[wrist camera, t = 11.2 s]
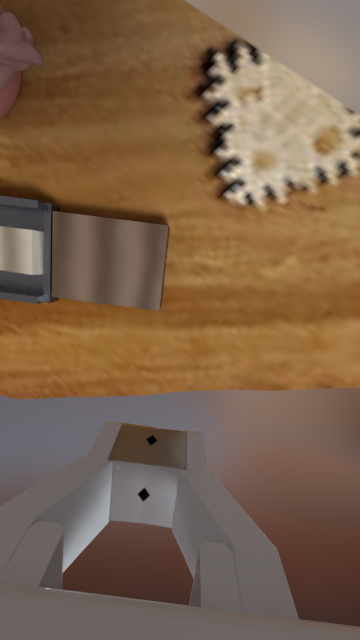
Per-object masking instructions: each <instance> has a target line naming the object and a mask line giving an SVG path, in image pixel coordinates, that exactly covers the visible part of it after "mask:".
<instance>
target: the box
mask: <svg viewBox="0 0 360 640" xmlns="http://www.w3.org/2000/svg"><path fill="white" fill-rule="evenodd" d="M53 211H56V212H60V207H58V206H56V205H53V204H50V203H43V202H41V201H38V200H31V199H23V198H15V197H7V196H0V226H3V227H11V228H20V229H28V230H35V231H41V232H44V274H40V275H29V274H23V273H16V272H9V271H3V270H0V299H5V300H13V301H21V302H29V303H37V304H38V303H42V302H47V303H51V302H54V301H58V298H55V297H52V233H53Z"/></svg>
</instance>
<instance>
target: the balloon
mask: <svg viewBox="0 0 360 640" xmlns="http://www.w3.org/2000/svg"><path fill="white" fill-rule="evenodd" d="M33 45H34V42H33V35H32V33H31V31H30V30H29V29H28V28H27V27H21V26H20V24H19V22H18V20H17V18H16V17H15V15H13V14H12V13H10V12H5V11H4V9H3V7H2V5H1V4H0V119H1V118H2V117H3V116H5V115H6V114H7V113H8V112H9V111H10V109H11V108H12V106H13V105H14V103H15V101H16V99H17V96H18V93H19V90H20V85H21V71H25V70H28V69H29V68H30V67H31V65H32V64H34V65H36V66H40V65H41V64H42V61H43V60H42V57H41V55H40V53H39V52H38V51H37V50H36V49H35V48H34V47H33Z"/></svg>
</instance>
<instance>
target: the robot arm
mask: <svg viewBox="0 0 360 640" xmlns="http://www.w3.org/2000/svg"><path fill="white" fill-rule="evenodd" d="M109 520H115V521H126V522H137V523H144V524H151V525H157V526H164V527H170V528H172V531H173V533H174V535H175V537H176V540H177V542H178V544H179V547H180V549H181V551H182V553H183V556H184V558H185V560H186V562H187V565H188V567H189V569H190V571H191V574H192V576H193V578H194V582H193V588H192V593H191V598H190V604H189V606H186V605H179V604H170V603H163V602H154V601H146V600H139V599H131V598H123V597H115V596H107V595H99V594H92V593H84V592H76V591H68V590H62V573H63V572H64V571H65V570H66V569H67V567H68V566H69V565H70V564H71V563H72V562H73V561H74V559H76V557H77V556H78V555H79V554H80V553H81V552H82V551H83V550H84V549H85V547H86V546H87V545H88V544H89V543H90V542H91V541H92V540H93V539H94V538H95V537H96V535H97V534H98V533H99V532H100V531H101V530H102V529H103V528H104V527H105V525H106V524H107V523H108V522H109ZM0 640H360V627H354V626H346V625H339V624H331V623H322V622H315V621H307V620H299V618H298V615H297V612H296V609H295V605H294V602H293V599H292V596H291V592H290V589H289V586H288V583H287V580H286V577H285V573H284V570H283V567H282V564H281V560H280V557H279V554H278V551H277V548H276V547H275V546H274V545H273V544H272V543H271V541H270V540H269V539H268V538H267V537H266V536H265V535H264V533H263V532H262V531H261V530H260V529H259V528H258V526H257V525H256V524H255V523H254V522H253V521H252V519H251V518H250V517H249V516H248V515H247V513H246V512H245V511H244V510H243V509H242V508H241V506H240V505H239V504H238V503H237V502H236V501H235V499H234V498H233V497H232V496H231V495H230V494H229V493H228V491H227V490H226V489H225V488H224V487H223V486H222V484H221V483H220V482H219V481H218V480H217V478H216V477H215V476H214V475H213V474H212V473H207V468H206V457H205V446H204V436H203V433H202V432H192V431H178V430H169V429H159V428H155V427H148V426H141V425H135V424H127V423H121V422H120V423H119V422H112V421H107V422H106V423H104V426H103V427H102V429H101V431H100V433H99V435H98V437H97V439H96V441H95V443H94V445H93V447H92V449H91V451H90V453H89V455H88V457H87V458H86V457H82V458H79V459H78V460H76V461H74V462H73V463H71V464H69V465H68V466H66V467H64V468H63V469H61V470H60V471H58V472H56V473H55V474H53V475H51V476H50V477H48V478H46V479H45V480H43V481H41V482H40V483H38V484H36V485H35V486H33V487H31V488H30V489H28V490H26V491H25V492H23V493H21V494H20V495H18V496H16V497H15V498H13V499H11V500H10V501H8V502H6V503H5V504H3V505H1V506H0Z"/></svg>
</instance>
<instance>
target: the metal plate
mask: <svg viewBox="0 0 360 640" xmlns="http://www.w3.org/2000/svg"><path fill="white" fill-rule="evenodd" d="M169 230H170V228H169V226H168V225H161V224H153V223H145V222H137V221H129V220H121V219H113V218H105V217H97V216H89V215H81V214H73V213H64V212H56V211H53V233H52V297H55V298H63V299H71V300H79V301H87V302H94V303H102V304H110V305H118V306H126V307H134V308H142V309H150V310H158V311H159V310H160V308H161V305H162V295H163V286H164V277H165V267H166V258H167V249H168V239H169Z"/></svg>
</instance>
